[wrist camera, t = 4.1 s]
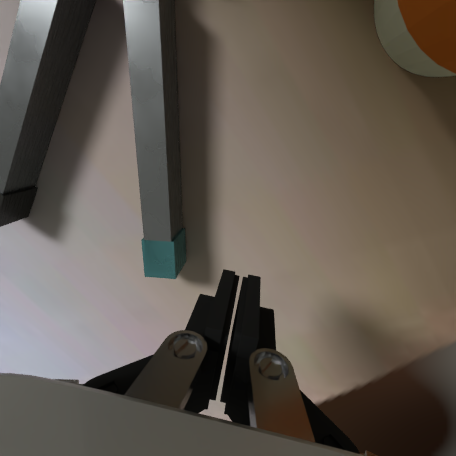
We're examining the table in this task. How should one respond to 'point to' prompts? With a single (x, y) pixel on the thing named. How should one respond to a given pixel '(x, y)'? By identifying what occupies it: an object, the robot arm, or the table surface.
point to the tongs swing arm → (156, 132)
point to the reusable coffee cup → (419, 34)
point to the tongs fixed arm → (35, 93)
